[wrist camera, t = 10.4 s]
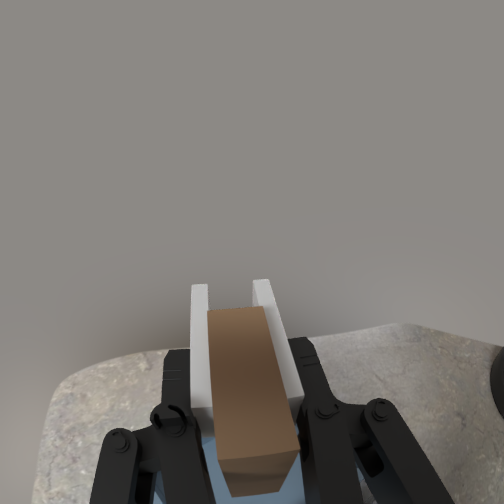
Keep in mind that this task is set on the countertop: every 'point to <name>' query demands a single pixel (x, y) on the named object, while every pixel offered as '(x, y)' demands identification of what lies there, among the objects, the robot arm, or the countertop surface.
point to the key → (249, 403)
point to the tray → (286, 500)
